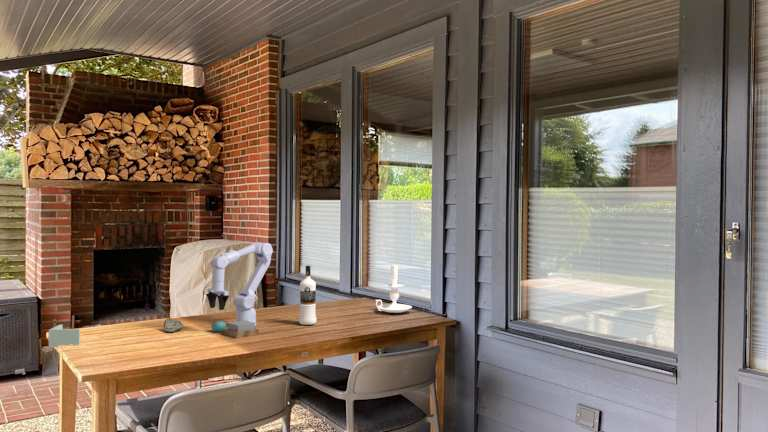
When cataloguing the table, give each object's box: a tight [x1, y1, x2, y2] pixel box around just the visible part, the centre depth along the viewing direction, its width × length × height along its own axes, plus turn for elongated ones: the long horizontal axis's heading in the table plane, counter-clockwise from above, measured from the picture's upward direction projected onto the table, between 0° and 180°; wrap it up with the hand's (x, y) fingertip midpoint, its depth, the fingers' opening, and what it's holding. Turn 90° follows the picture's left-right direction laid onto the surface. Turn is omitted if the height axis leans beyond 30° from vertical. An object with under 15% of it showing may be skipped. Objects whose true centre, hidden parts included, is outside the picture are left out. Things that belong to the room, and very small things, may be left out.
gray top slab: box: [227, 320, 256, 332], centre depth 273 cm, size 9×9×3 cm
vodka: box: [298, 265, 318, 326], centre depth 300 cm, size 9×9×30 cm
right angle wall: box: [48, 324, 81, 349], centre depth 251 cm, size 12×12×8 cm
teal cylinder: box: [211, 321, 227, 333], centre depth 278 cm, size 5×5×5 cm
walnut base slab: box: [221, 327, 259, 339], centre depth 273 cm, size 12×12×3 cm
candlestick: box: [375, 264, 413, 314], centre depth 333 cm, size 21×25×28 cm
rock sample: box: [163, 317, 185, 333], centre depth 277 cm, size 10×8×9 cm
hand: (216, 308), depth 281 cm, fingers open, 7 cm apart
